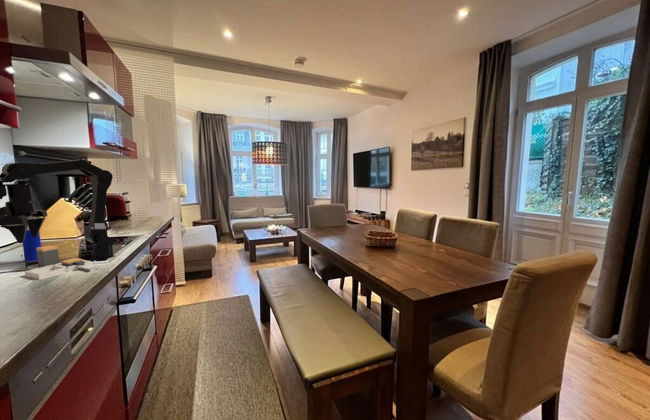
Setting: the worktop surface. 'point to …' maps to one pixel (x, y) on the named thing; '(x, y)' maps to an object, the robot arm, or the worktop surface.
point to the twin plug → (74, 263)
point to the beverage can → (31, 246)
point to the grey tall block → (47, 255)
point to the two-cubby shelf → (54, 270)
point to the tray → (36, 266)
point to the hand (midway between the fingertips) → (27, 239)
